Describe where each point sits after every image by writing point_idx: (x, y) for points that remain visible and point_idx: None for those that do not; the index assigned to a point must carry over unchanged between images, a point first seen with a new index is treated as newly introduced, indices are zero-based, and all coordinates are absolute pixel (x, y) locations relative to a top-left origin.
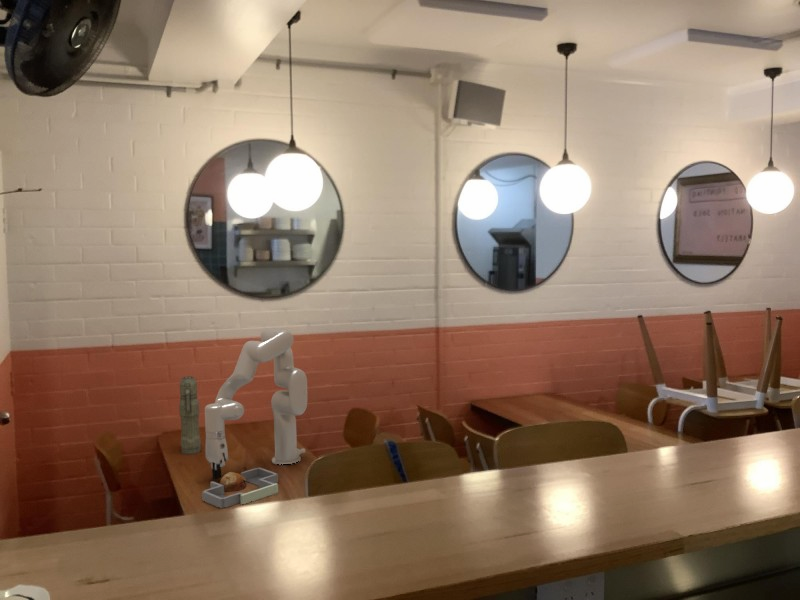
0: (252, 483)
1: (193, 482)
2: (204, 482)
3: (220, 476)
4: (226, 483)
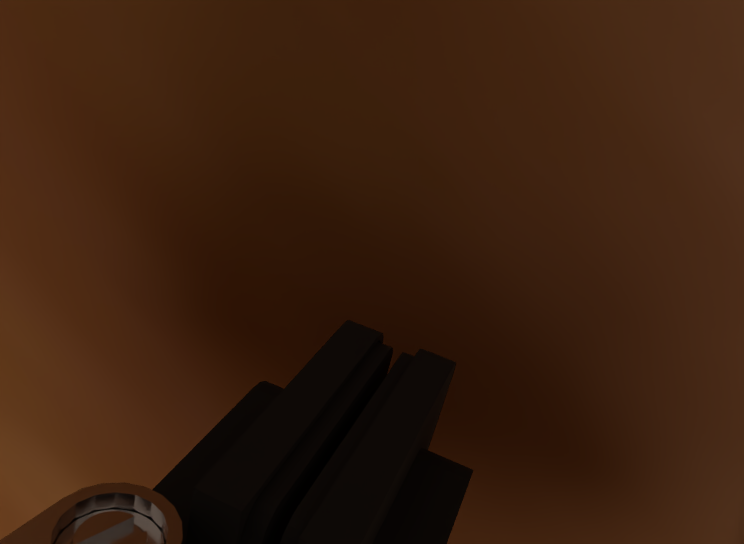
0: None
1: None
2: None
3: (436, 403)
4: None
